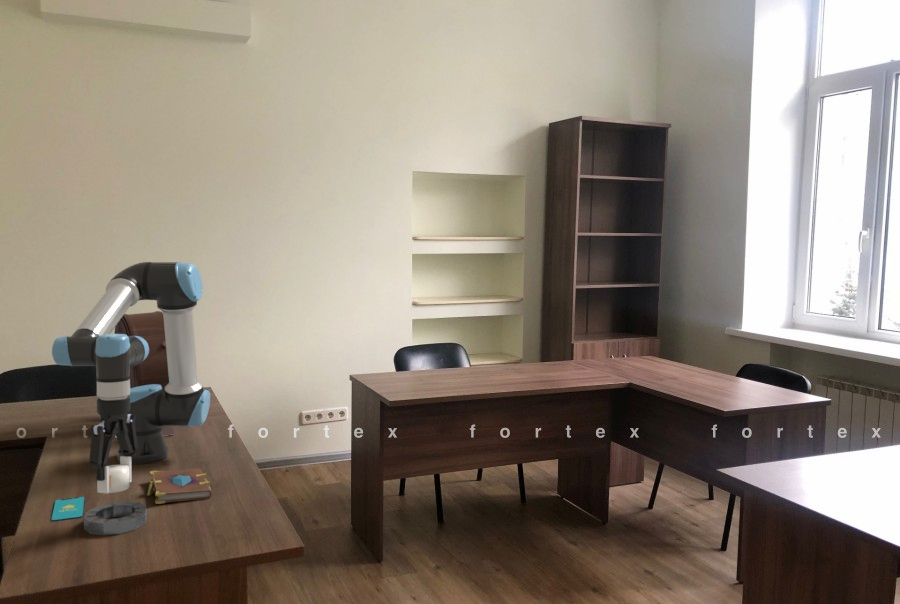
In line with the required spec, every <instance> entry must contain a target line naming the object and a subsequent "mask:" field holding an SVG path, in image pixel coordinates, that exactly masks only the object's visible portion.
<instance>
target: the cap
mask: <svg viewBox="0 0 900 604" xmlns="http://www.w3.org/2000/svg"><path fill="white" fill-rule="evenodd" d="M108 466H109V493H108V494H111V493H112V494H114V493H120V492H124V491H127V490H128V489H130V482H129V466H127V465H120V464H112V465H108Z"/></svg>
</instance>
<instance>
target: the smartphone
mask: <svg viewBox="0 0 900 604" xmlns="http://www.w3.org/2000/svg"><path fill="white" fill-rule="evenodd" d="M85 499H86V498H85V496H79V497H72V498H71V497H70V498H63V499H62V498H61V499H56V500H55V501H54V504H53V509H52V514H51V519H50V520H51V522H60V521H66V520H74V519H81V518H84V509H85Z"/></svg>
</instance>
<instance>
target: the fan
mask: <svg viewBox="0 0 900 604" xmlns="http://www.w3.org/2000/svg"><path fill="white" fill-rule="evenodd" d="M113 334H125V335H127V336H139V337H142V338H143V339H144V340H145V341H146V342H147V343H148V346H149V354H148V356H147V358H146V359H145V360H144V361H142V362H141V363H139V364H137V365H134V366H132V367H130V389H131V388H134V387H138V386H144V385H151V384H157V385H161V387H162V390H165V386H166V385H167V384H168V383H169V375H168V363H167V352H166V340H165V329H164V317H163V312H162V311H161V310H156V311H152V312H142V313H141V312H140V313H132V314H131V313H129V314H127V313H125V314H124V315H123V316H122V318H121V319H120V321H119V322H118V323H117V325H116V326H115V328H114V333H113ZM162 434H163V435H170V434H175V426H162Z"/></svg>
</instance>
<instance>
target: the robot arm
mask: <svg viewBox="0 0 900 604" xmlns="http://www.w3.org/2000/svg"><path fill="white" fill-rule="evenodd" d="M202 297H203V279H202V276H201V273H200V271H199V268H197V266H196V265H195V264H193V263H187V262H182V261H181V262H180V261H178V262H177V261H176V262H169V261H163V262H162V261H160V262H159V261H158V262H151V261H143V262H138V263H134V264H132V265H130V266H128V267H126V268H124V269H122V270H120V271H119V272H118V273H117V274H116V275H114V276H113V277H112V278H111V279H110V280H109V282H108V283H107V284H106V286H105V293H104V294H103V295H102V297H101V298H100V299H99V300H98V302H97V303H96V304H95V305H94V307H93V308H92V310H91V311H90V312H89V313H88V315H87V316H86V317H85V318H84V319H83V321H82V322H81V324H80V325H79V326H78V327H77V328H76V330H75V331H74V332H73V334H71V336H70V335H65V336H59V337H57V338H55V339H54V341H53V344H52V346H51V356H52V358H53V362H54V363H55V364H56V365H59V366H70V367H95V372H96V377H95V378H96V397H98V398H97V400H96V413H97V415H99V416H100V420H99V423H98V424H97V425H91V426H90V433H91V440H90V441H91V443H90V450H89V451H90V452H89V462H88V463H89V464H88V466H89V467H93V468H95V471H96V473H95V475H96V477H95V478H96V479H95V480H96V481H97V483H96V484H97V487H96V488H97V489H96V490H97V491H96V492H97V494H98V493H99V494H110V493H109V466H110V465H108V464H107V463H108V460H109V457H110V451H111V448H112V443H113V440H115V439H117V441H118V445H119V447H118V450H117V461H118V462H119V465H127V466H129V483H133V481H132V479H133V477H132V473H133V471H132V467H133V465H139V464H140V465H142V464H149V463H150V464H151V463H154V462H159V461H162V460H164V459H166V458H167V457H168V456H169V448H168V446H167V443H166V440H165V439H166V438H165V437H164V436H163V434H162V426H174V427H187V428H190V427H200V426H202V425H203V424H204V423H205V421H206V420H207V418H208V414H209V410H210V406H211V393H210V390H207V389H204V384H203V382H202V381H201V380H199V379H198V368H197V356H196V342H195V330H194V329H195V328H194V326H195V325H194V316H193V315H194V314H193V310H194V309H195V308H196V306H197V304H198V301H200V300H201V299H202ZM139 301H156V307H157V309H158V310H159V311H161V312H163V317H164V329H165V340H166V352H167V363H168V375H169V383H168V384H167V385H166V386H165V390H162V387H161V385H157V384H151V385H144V386H138V387H134V388H131V389H130V367H132V366H134V365H137V364H139V363H141V362H142V361H144V360H145V359H146V358H147V356H148V354H149V346H148V343H147V342H146V341H145V340H144V339H143V338H142V337H139V336H127V335H125V334H114V333H112V332H113V331H114V330H115V326H116V325H117V323H118V322H119V321H120V319H121V318H122V316H123V315H124V314H126V312H127V311H128V309H129V308H130V307H133V306H135V305H136V304H137V303H138V302H139ZM165 457H166V458H165ZM161 459H162V460H161ZM158 460H159V461H158Z"/></svg>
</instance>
